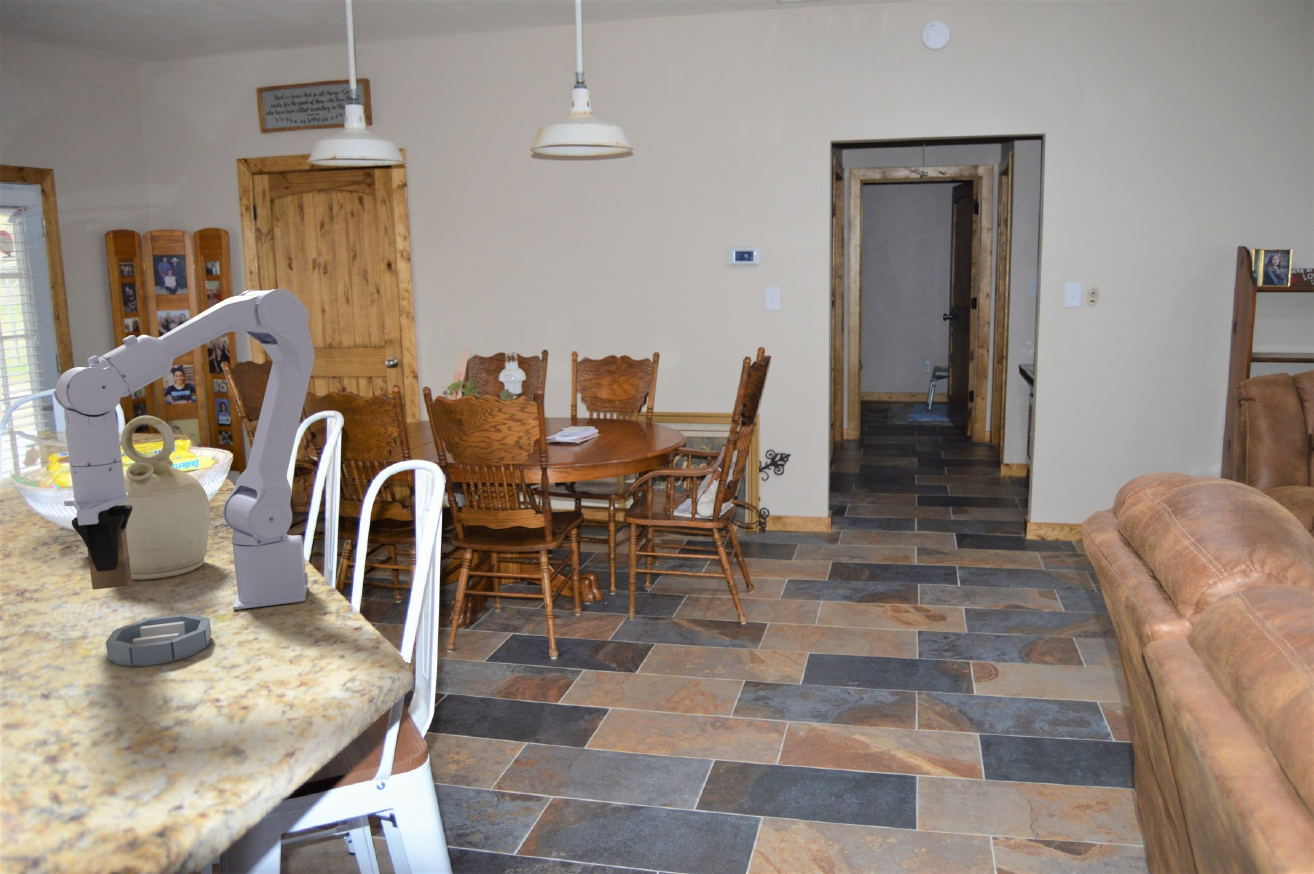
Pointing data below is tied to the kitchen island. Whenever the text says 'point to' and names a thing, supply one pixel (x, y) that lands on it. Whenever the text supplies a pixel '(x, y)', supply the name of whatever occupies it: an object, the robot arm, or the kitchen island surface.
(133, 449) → the jug
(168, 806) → the kitchen island surface
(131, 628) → the blue-grey octagonal tray
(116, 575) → the wooden rectangular block
